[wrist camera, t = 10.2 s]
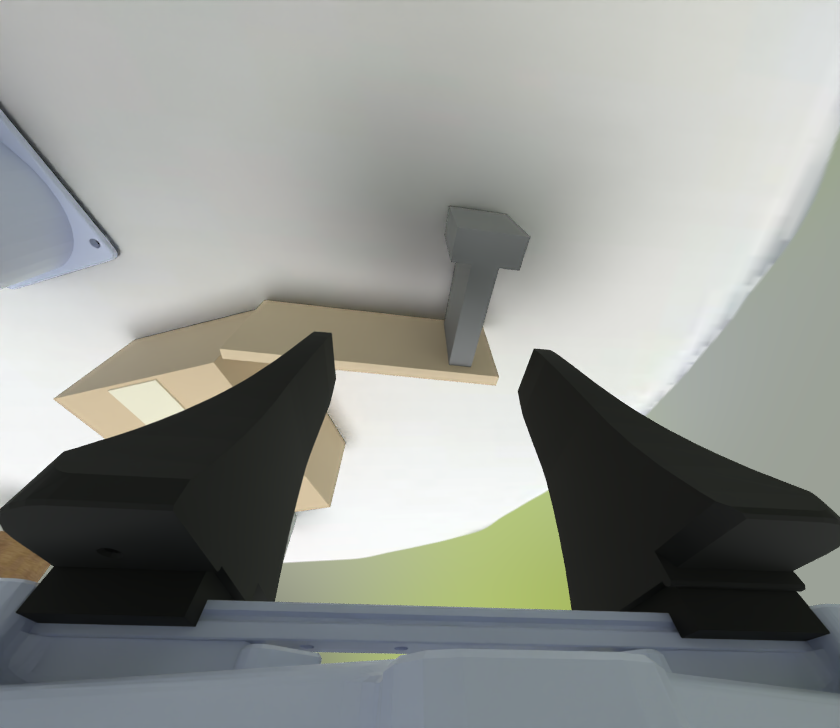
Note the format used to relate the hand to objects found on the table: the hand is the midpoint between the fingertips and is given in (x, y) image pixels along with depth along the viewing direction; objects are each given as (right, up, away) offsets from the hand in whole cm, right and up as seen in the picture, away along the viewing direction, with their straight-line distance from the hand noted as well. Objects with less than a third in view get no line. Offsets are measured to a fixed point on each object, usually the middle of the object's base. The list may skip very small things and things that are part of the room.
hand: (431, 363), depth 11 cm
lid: (-3, +6, +7) cm, 9 cm away
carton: (-14, -3, +14) cm, 20 cm away
